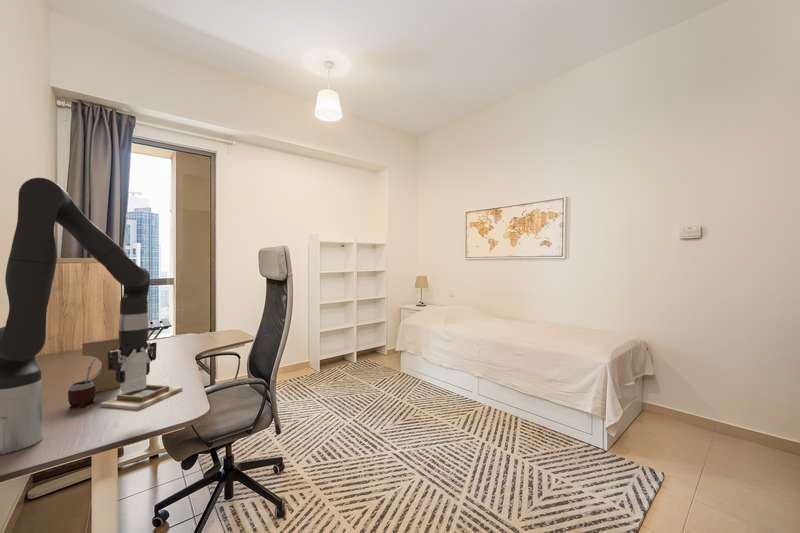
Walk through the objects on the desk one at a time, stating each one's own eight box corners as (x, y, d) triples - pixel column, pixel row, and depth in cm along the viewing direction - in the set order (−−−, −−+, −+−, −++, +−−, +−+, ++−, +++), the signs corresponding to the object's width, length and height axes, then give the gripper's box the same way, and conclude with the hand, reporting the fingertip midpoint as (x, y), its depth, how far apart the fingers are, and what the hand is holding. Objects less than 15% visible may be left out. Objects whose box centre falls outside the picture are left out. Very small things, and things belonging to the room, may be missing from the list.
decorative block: (83, 395, 126) (82, 343, 126) (83, 391, 130) (82, 341, 130) (121, 387, 134) (120, 338, 134) (119, 383, 138) (118, 336, 138)
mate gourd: (68, 411, 112) (67, 368, 112) (68, 405, 118) (67, 363, 118) (98, 404, 118) (97, 363, 117) (96, 398, 123) (95, 358, 123)
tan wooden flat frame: (137, 410, 113) (137, 402, 113) (100, 406, 116) (100, 398, 116) (182, 390, 131) (182, 383, 131) (149, 387, 134) (148, 380, 134)
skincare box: (143, 385, 110) (143, 349, 110) (146, 388, 107) (147, 351, 107) (119, 390, 105) (120, 352, 105) (122, 393, 102) (123, 355, 103)
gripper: (146, 323, 114) (145, 371, 114) (100, 331, 100) (99, 385, 100) (163, 324, 113) (163, 372, 112) (119, 332, 99) (119, 387, 98)
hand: (133, 378), depth 106 cm, fingers closed on skincare box, 7 cm apart
